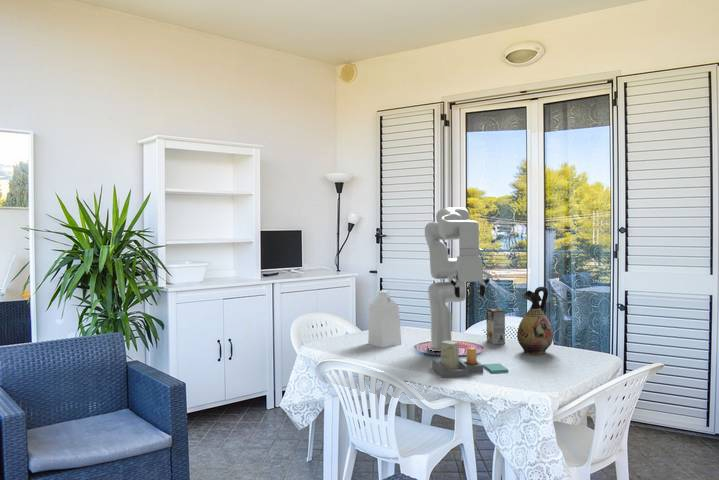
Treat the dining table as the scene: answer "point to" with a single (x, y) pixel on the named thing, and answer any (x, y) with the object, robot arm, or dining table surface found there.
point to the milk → (384, 321)
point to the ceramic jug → (535, 325)
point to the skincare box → (450, 355)
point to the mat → (495, 368)
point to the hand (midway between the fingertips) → (469, 296)
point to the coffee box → (495, 325)
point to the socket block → (462, 372)
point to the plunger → (471, 356)
